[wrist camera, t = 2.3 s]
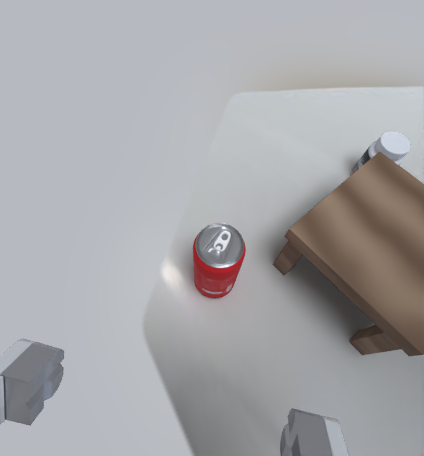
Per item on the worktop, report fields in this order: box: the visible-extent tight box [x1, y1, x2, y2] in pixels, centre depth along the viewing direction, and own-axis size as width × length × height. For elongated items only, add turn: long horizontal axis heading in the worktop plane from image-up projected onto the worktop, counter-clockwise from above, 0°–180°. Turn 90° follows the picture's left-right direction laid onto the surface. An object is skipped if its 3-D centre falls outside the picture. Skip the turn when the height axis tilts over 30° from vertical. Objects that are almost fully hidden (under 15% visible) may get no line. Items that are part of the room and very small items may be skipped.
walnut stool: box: [273, 151, 424, 356], centre depth 37 cm, size 16×16×11 cm
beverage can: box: [193, 223, 245, 298], centre depth 36 cm, size 5×5×12 cm
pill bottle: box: [351, 131, 411, 175], centre depth 45 cm, size 5×5×8 cm
